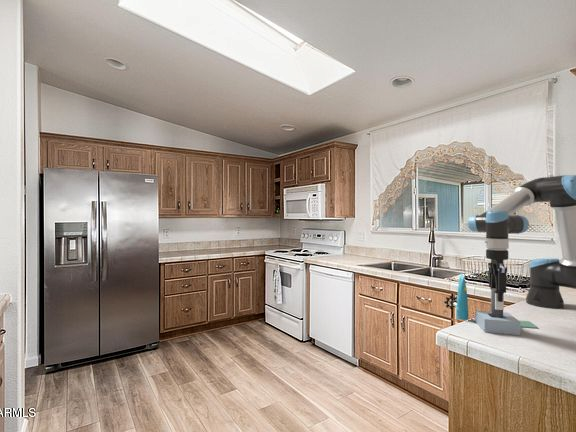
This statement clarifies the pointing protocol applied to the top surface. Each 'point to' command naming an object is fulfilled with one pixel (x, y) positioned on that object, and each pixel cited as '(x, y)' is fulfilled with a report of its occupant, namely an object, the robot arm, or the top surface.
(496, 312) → the plug
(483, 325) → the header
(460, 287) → the tube
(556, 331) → the top surface
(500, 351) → the top surface
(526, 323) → the pad
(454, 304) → the valve
